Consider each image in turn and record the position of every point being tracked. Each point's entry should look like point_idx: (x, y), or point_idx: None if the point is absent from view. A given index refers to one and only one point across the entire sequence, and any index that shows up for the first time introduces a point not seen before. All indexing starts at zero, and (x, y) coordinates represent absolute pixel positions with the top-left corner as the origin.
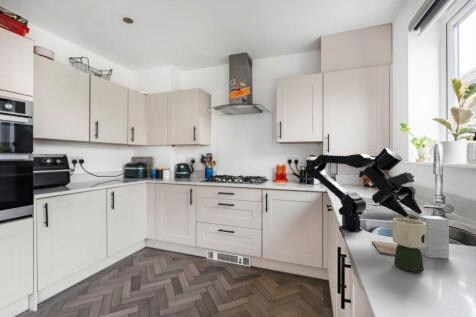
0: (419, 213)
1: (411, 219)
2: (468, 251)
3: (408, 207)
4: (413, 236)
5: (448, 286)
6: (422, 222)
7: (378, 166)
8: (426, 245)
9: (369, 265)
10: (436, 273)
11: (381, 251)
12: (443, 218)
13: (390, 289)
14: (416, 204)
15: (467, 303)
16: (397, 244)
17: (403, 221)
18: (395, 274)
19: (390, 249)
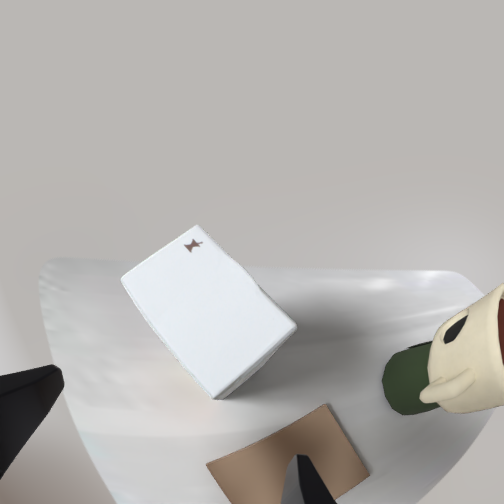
0: (63, 383)
1: (499, 345)
2: (84, 264)
3: (21, 447)
4: None
5: (417, 301)
6: (500, 297)
7: None
8: (261, 366)
9: (456, 437)
10: (376, 329)
11: (361, 475)
12: (190, 244)
13: None
14: (1, 389)
15: (443, 274)
16: (214, 468)
17: (495, 380)
18: None
19: None
